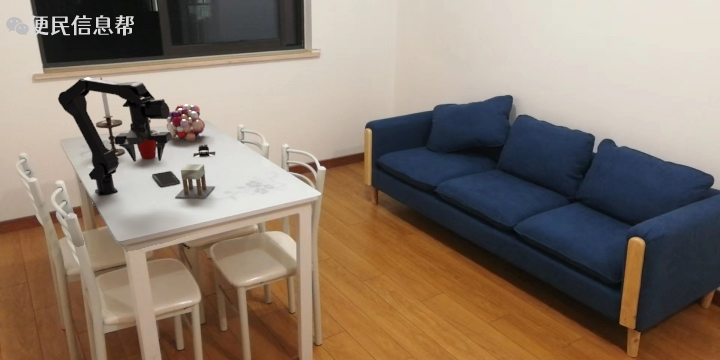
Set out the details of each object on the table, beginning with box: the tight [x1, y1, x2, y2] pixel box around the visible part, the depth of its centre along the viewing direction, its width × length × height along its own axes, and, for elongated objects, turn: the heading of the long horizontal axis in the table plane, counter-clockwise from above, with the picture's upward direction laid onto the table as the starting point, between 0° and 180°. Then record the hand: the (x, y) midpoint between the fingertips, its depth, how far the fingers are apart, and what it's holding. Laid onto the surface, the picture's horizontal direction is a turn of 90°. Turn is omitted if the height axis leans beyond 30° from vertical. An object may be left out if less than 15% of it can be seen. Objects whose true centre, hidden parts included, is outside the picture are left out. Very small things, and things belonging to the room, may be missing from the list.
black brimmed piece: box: [192, 144, 216, 158], centre depth 252 cm, size 12×7×5 cm, turn 103°
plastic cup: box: [136, 129, 159, 160], centre depth 247 cm, size 11×11×12 cm
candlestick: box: [95, 76, 126, 157], centre depth 249 cm, size 11×11×35 cm
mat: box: [175, 185, 216, 200], centre depth 208 cm, size 11×11×1 cm
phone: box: [151, 170, 181, 188], centre depth 222 cm, size 8×1×15 cm
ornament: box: [166, 103, 206, 143], centre depth 274 cm, size 18×19×20 cm
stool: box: [180, 163, 207, 195], centre depth 206 cm, size 6×6×10 cm
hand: (147, 161), depth 203 cm, fingers open, 9 cm apart
